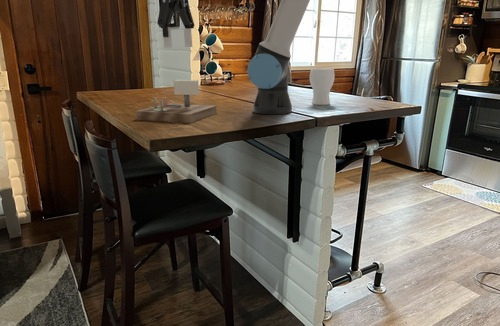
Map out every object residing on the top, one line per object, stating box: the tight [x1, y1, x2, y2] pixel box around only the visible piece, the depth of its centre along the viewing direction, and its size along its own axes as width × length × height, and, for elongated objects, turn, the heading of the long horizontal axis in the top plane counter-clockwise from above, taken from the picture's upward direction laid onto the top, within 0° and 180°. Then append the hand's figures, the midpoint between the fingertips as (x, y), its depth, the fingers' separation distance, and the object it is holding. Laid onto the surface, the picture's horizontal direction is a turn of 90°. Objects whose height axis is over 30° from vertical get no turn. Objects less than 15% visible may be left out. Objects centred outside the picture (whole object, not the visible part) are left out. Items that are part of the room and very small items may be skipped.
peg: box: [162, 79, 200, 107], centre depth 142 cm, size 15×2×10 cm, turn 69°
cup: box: [309, 67, 336, 106], centre depth 167 cm, size 11×11×15 cm
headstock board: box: [135, 97, 218, 124], centre depth 141 cm, size 22×20×7 cm
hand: (178, 47), depth 138 cm, fingers open, 13 cm apart
